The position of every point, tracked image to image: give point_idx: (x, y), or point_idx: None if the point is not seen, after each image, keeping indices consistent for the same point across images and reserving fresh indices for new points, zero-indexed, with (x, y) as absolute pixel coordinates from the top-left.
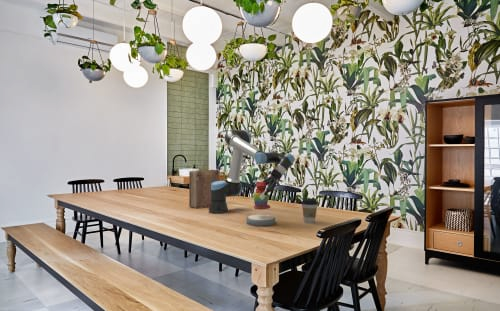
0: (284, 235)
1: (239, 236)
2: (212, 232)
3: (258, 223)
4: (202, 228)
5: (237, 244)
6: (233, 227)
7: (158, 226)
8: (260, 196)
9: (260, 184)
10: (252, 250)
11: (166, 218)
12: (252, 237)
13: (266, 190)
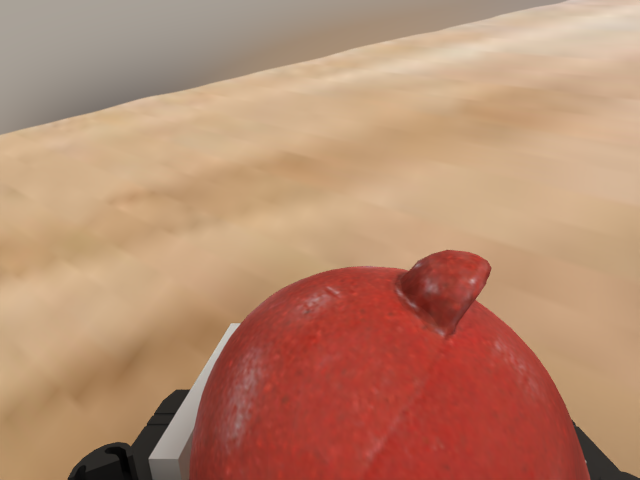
0: (8, 382)
1: (164, 193)
2: (278, 138)
3: None
4: (355, 127)
5: (89, 156)
6: (315, 225)
7: (438, 45)
8: (228, 331)
9: (247, 319)
10: (3, 169)
11: (578, 71)
12: (114, 227)
13: (154, 469)
